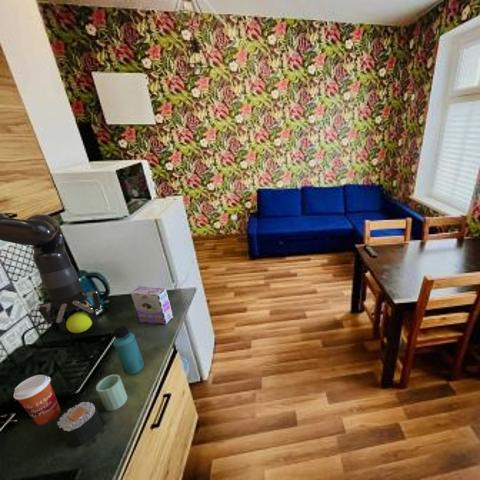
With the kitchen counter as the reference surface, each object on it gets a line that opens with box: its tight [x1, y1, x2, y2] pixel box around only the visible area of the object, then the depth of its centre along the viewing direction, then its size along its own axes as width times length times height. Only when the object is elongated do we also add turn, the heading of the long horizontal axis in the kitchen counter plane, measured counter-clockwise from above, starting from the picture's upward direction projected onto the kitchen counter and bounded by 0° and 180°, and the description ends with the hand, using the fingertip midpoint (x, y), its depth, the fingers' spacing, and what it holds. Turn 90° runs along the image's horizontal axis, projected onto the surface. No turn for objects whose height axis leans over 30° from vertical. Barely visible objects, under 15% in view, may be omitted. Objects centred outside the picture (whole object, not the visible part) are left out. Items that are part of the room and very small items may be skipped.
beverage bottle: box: [112, 325, 145, 376], centre depth 95 cm, size 6×7×20 cm
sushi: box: [56, 401, 104, 447], centre depth 78 cm, size 8×8×8 cm
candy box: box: [129, 286, 174, 326], centre depth 123 cm, size 14×6×16 cm, turn 83°
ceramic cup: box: [95, 373, 128, 412], centre depth 86 cm, size 6×6×9 cm
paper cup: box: [13, 374, 61, 426], centre depth 81 cm, size 8×8×14 cm
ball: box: [65, 311, 93, 334], centre depth 86 cm, size 6×6×6 cm
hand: (80, 325), depth 86 cm, fingers closed on ball, 6 cm apart
